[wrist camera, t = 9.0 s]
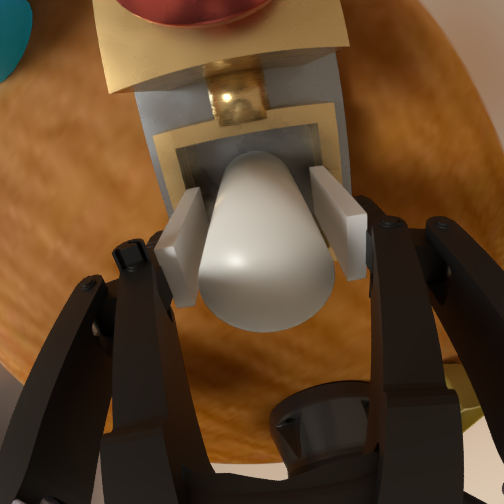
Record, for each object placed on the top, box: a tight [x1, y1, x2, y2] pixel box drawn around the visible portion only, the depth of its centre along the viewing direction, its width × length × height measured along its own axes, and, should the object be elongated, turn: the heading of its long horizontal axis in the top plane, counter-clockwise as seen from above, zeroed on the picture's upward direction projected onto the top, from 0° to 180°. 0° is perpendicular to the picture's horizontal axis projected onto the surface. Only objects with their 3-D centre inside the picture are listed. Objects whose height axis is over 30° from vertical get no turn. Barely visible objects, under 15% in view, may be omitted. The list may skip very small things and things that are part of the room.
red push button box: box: [92, 0, 352, 261], centre depth 12 cm, size 22×12×11 cm, turn 10°
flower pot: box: [443, 363, 484, 433], centre depth 28 cm, size 9×9×9 cm
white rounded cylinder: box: [198, 151, 335, 332], centre depth 14 cm, size 4×4×10 cm
